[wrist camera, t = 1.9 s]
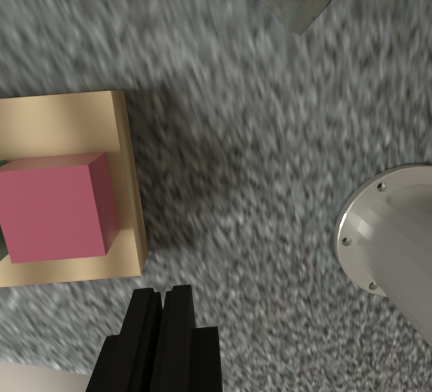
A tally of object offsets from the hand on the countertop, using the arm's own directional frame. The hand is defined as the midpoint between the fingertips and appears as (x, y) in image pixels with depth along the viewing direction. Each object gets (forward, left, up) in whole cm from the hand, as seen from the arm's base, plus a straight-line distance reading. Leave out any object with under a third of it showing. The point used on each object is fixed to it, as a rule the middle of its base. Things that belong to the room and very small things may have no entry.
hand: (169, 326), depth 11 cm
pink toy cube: (+8, 0, -15) cm, 17 cm away
